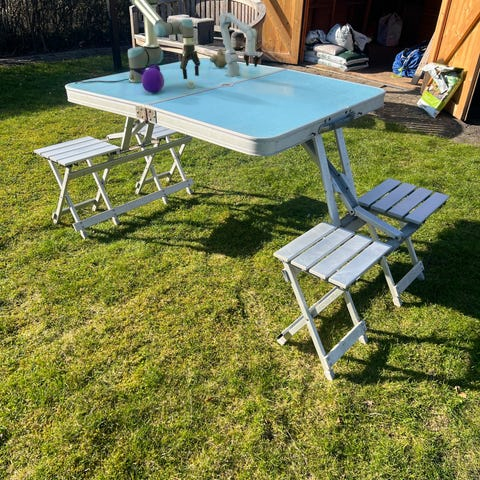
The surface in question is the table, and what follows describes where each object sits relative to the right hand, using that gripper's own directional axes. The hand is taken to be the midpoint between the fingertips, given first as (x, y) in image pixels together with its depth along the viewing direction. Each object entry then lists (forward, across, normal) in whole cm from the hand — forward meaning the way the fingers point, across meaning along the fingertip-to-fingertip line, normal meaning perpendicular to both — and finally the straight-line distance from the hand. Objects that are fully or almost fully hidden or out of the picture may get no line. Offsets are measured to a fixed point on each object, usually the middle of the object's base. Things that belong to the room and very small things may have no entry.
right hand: (251, 66), depth 338 cm
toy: (+8, -31, -75) cm, 81 cm away
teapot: (+8, -48, +22) cm, 54 cm away
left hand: (+2, -16, -50) cm, 52 cm away
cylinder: (+8, -15, -52) cm, 54 cm away
